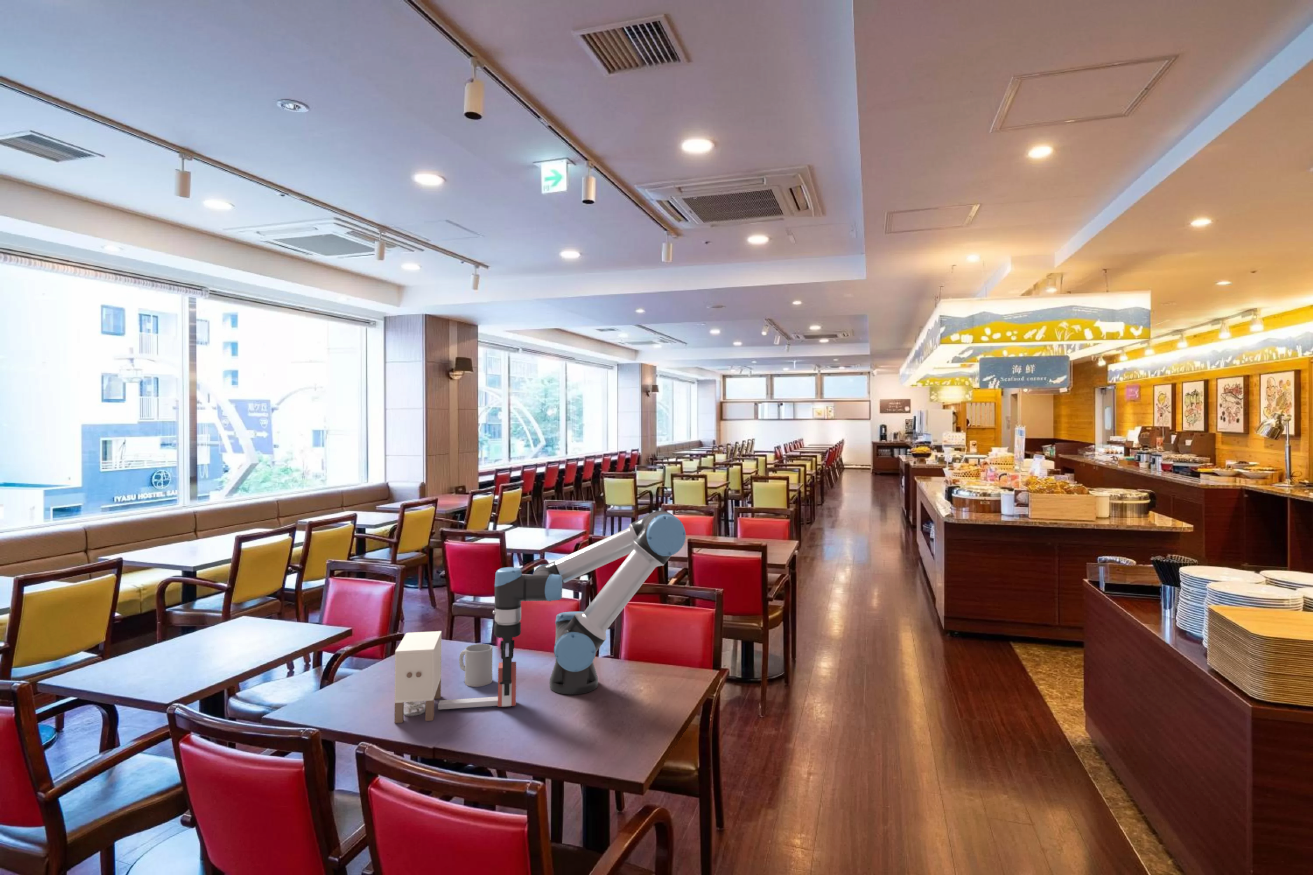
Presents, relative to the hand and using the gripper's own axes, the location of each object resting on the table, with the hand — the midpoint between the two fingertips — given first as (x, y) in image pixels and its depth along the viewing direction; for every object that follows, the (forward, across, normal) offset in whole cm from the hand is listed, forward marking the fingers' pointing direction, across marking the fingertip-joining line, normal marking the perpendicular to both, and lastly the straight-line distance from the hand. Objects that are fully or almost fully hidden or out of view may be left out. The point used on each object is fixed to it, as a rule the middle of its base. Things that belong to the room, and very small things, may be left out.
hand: (506, 701), depth 193 cm
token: (+1, 0, -26) cm, 26 cm away
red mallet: (0, 0, -8) cm, 8 cm away
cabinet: (+1, -2, -25) cm, 25 cm away
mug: (+1, -22, -11) cm, 24 cm away
